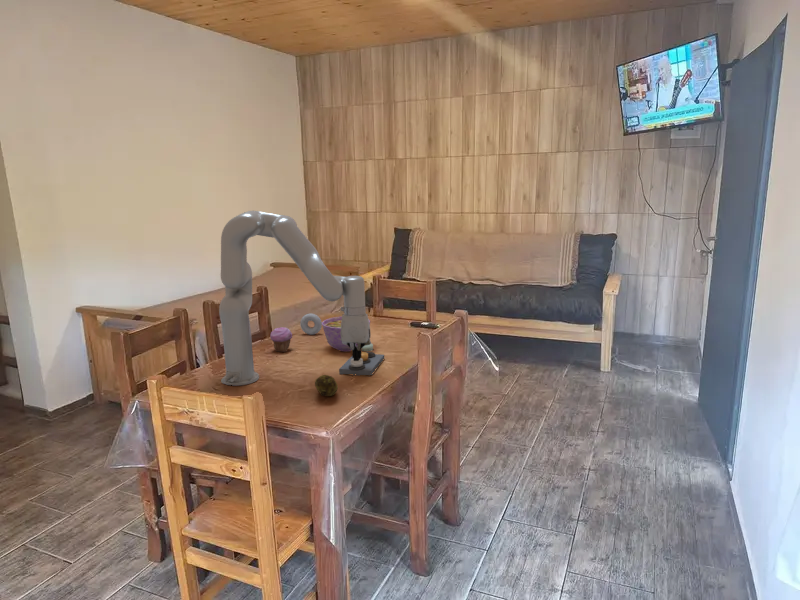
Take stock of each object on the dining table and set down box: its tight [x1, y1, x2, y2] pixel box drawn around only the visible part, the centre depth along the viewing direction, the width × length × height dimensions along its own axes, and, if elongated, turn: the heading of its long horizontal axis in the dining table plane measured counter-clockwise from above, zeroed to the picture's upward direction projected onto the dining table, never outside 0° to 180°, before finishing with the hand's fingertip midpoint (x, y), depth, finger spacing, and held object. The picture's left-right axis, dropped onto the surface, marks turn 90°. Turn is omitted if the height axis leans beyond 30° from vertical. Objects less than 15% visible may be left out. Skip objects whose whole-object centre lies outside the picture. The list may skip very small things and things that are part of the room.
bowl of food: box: [321, 316, 371, 352], centre depth 233 cm, size 20×20×12 cm
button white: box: [351, 358, 363, 367], centre depth 204 cm, size 4×4×2 cm
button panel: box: [338, 351, 385, 376], centre depth 212 cm, size 20×12×3 cm, turn 167°
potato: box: [314, 374, 338, 397], centre depth 183 cm, size 8×13×8 cm, turn 172°
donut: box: [299, 312, 323, 336], centre depth 256 cm, size 10×3×10 cm, turn 85°
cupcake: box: [269, 326, 293, 353], centre depth 233 cm, size 9×9×10 cm
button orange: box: [361, 351, 368, 361], centre depth 211 cm, size 4×4×2 cm
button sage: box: [361, 342, 374, 352], centre depth 217 cm, size 4×4×2 cm
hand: (357, 359), depth 204 cm, fingers closed
